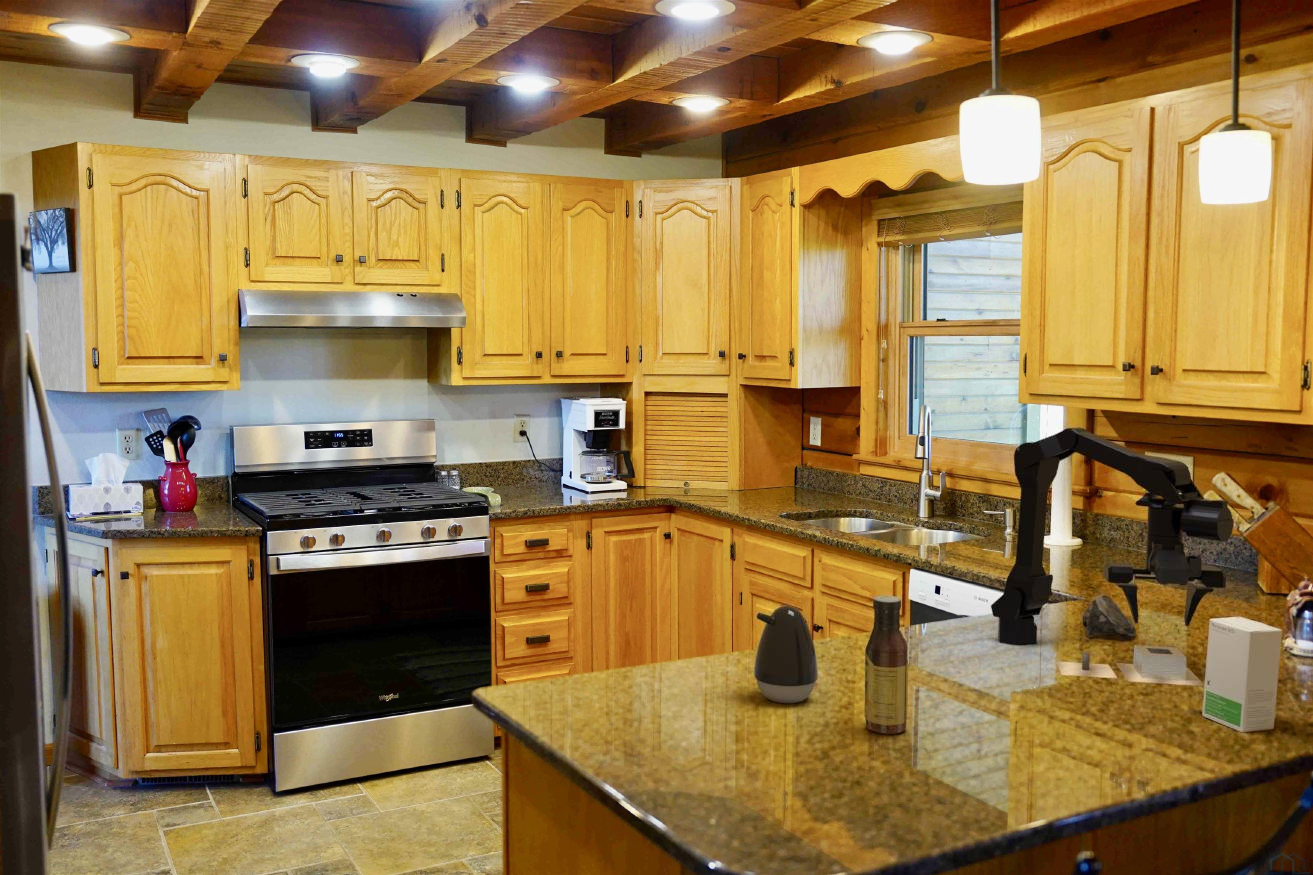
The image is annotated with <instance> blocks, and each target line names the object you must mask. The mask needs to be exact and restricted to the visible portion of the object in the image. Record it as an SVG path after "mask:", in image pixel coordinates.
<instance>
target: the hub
mask: <svg viewBox="0 0 1313 875" xmlns="http://www.w3.org/2000/svg"><path fill="white" fill-rule="evenodd" d="M1115 664H1116V666H1117V667H1118V668H1119V670H1120V672H1121V673H1122V674H1123V675H1124V677H1125V678H1126V680H1127V681H1128V682H1130V683H1131V682H1133V683H1147V684H1148V683H1149V684H1164V685H1178V686H1180V685H1181V686H1193V687H1194V686H1196V687H1205V683H1203V682H1202V681H1201V680H1200V679H1199V678H1198V677H1197V675H1196V674H1195V673H1193V672H1192V670H1191V669H1190V668H1189V667H1187V666H1186V681H1179V680H1163V679H1146V678H1141V677H1140V676H1139V674H1138V673H1137V672H1136V670H1135V669H1134V668H1133V663H1123V662H1116V663H1115Z"/></svg>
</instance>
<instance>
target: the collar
mask: <svg viewBox="0 0 1313 875" xmlns="http://www.w3.org/2000/svg"><path fill="white" fill-rule="evenodd" d="M1132 660H1133V662H1132V664H1133V668H1134V669H1135V670H1136V672H1137V673H1138V674H1139V676H1140V677H1141V678H1146V679H1163V680H1179V681H1186V667H1187V660H1188V659H1187V657H1186V655H1185V654H1184V653H1183V652H1182V651H1181V650H1180V649H1179V648H1177V647H1175V646H1174V647H1172V646H1155V645H1140V644H1139V645H1137V644H1134V645H1133V658H1132Z"/></svg>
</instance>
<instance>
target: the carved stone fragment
mask: <svg viewBox="0 0 1313 875" xmlns="http://www.w3.org/2000/svg"><path fill="white" fill-rule="evenodd" d="M1082 626H1083V627H1085V628H1086V629H1085V632H1086V635H1085V636H1086V638H1088V637H1091V638H1093V637H1098V636H1107V635H1111V634H1113V635H1117V636H1118V637H1119V638H1121V639H1123V640H1127V641H1131V640H1132V639H1134V638H1135V636H1136V633H1137V629H1136V627H1135V625H1134V623H1133V620H1132V619H1131V618H1130V617H1129V615H1126V614H1125V613H1123V611H1122V609H1121V608H1120V606H1119V605H1118V604H1117V603H1116V602H1114V600H1113V599H1112V597H1111V596H1109V595H1108V594H1106V593H1105V594H1103V593H1102V594H1099V595H1096V596H1095V597H1094V599H1093V600H1092V601H1091V603H1090V604H1089V605H1088V607H1087V608H1086V609H1085V610H1084V612H1083V614H1082Z"/></svg>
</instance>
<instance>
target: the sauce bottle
mask: <svg viewBox="0 0 1313 875" xmlns="http://www.w3.org/2000/svg"><path fill="white" fill-rule="evenodd" d="M872 602H873V603H872V607H873V610H874V612H873V614H874V616H873V617H874V619H873V627H872V630H871V633H870V636H869V638H868V642H867V644H866V646H865V650H864V651H865V652H864V656H865V657H864V660H865V661H864V662H865V663H864V718H865V727H866V728H867V730H869V731H872V732H875V733H878V734H884V735H889V736H890V735H896V734H901V733H903V732H904V731H906V729H907V719H908V700H909V699H908V698H909V697H908V694H909V692H908V690H909V688H908V687H909V682H908V681H909V660H908V642H907V641H906V638H905V637H904V635H903V633H902V631H901V629H900V627H901V623H900V620H901V618H900V616H901V615H900V614H901V613H900V612H901V608H902V598H900V597H899V596H898V597H897V596H892V595H880V596H879V595H878V596H875V597H874V598H873V601H872Z"/></svg>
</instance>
